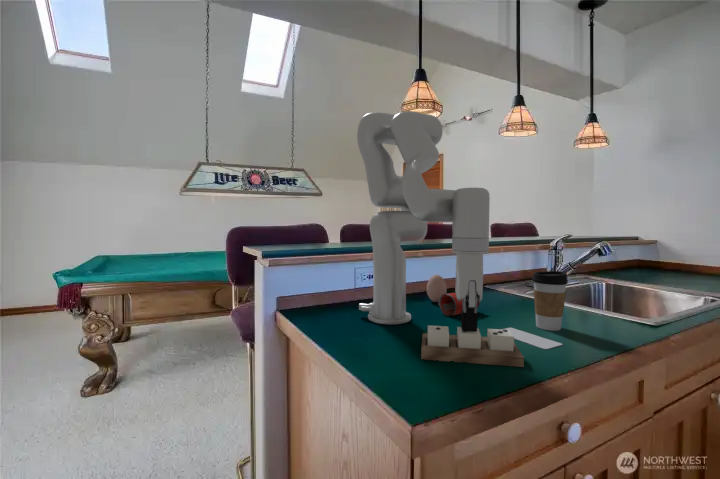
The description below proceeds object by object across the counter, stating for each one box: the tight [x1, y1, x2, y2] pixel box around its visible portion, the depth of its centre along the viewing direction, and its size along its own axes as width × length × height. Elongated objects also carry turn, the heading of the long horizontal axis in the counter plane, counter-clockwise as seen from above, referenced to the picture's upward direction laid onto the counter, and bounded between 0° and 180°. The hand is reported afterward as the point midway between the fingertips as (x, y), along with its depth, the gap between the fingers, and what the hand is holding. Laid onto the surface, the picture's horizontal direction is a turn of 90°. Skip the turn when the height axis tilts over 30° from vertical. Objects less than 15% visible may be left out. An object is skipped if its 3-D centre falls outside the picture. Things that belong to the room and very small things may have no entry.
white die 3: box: [486, 328, 515, 351], centre depth 76 cm, size 4×4×4 cm
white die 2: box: [456, 326, 482, 349], centre depth 77 cm, size 4×4×4 cm
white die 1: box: [427, 325, 450, 347], centre depth 79 cm, size 4×4×4 cm
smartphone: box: [501, 327, 564, 351], centre depth 87 cm, size 7×1×15 cm
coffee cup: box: [532, 270, 569, 332], centre depth 95 cm, size 8×8×15 cm
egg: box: [426, 274, 448, 303], centre depth 124 cm, size 7×7×10 cm
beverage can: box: [438, 292, 481, 317], centre depth 110 cm, size 7×12×7 cm, turn 121°
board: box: [420, 332, 525, 368], centre depth 77 cm, size 20×11×2 cm, turn 79°
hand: (469, 329), depth 77 cm, fingers closed
